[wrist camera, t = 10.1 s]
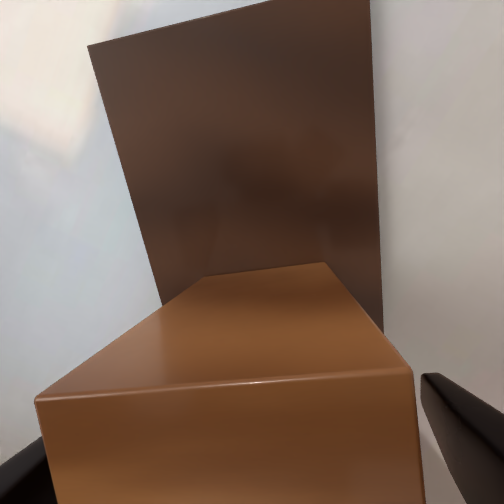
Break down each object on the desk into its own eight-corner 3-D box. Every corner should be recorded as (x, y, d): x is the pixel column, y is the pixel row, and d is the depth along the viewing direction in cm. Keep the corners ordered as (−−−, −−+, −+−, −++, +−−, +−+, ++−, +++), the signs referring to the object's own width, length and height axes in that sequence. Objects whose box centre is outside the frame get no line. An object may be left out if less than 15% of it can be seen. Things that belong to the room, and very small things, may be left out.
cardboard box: (325, 261, 14) (335, 342, 14) (202, 277, 15) (215, 353, 15) (414, 368, 4) (440, 620, 4) (29, 397, 5) (79, 608, 5)
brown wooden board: (380, 331, 16) (384, 338, 15) (180, 350, 17) (176, 356, 16) (364, -16, 11) (369, -26, 11) (94, 50, 13) (86, 45, 12)
